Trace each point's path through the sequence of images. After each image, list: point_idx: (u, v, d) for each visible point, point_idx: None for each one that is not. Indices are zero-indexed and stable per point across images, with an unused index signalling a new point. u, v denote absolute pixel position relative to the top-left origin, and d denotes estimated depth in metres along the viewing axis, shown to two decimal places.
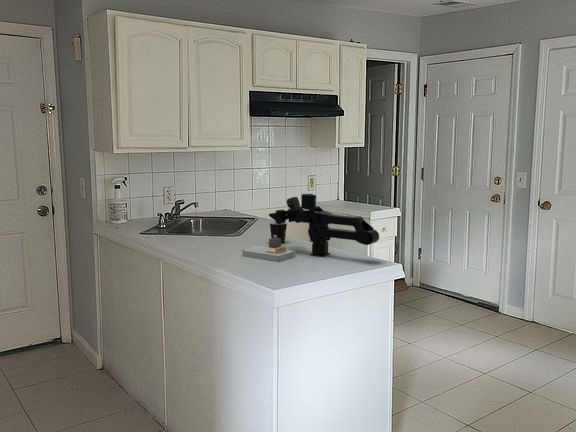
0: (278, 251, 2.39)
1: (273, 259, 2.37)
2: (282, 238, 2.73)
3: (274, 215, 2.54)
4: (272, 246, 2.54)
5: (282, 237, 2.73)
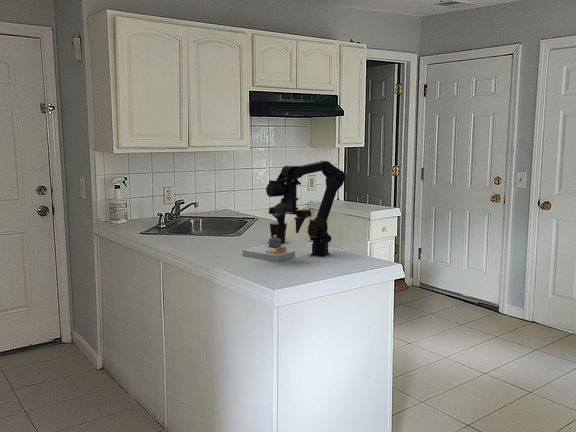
0: (278, 251, 2.39)
1: (273, 259, 2.37)
2: (282, 238, 2.73)
3: (299, 223, 2.34)
4: (272, 246, 2.54)
5: (282, 237, 2.73)
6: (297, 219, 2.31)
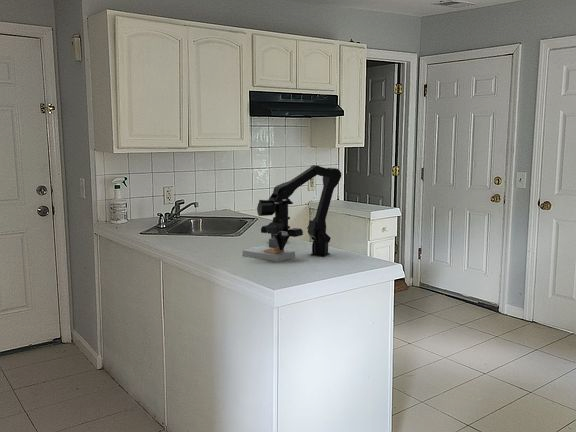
0: (277, 251, 2.40)
1: (273, 259, 2.37)
2: None
3: (284, 241, 2.39)
4: (272, 246, 2.54)
5: None
6: (282, 237, 2.37)
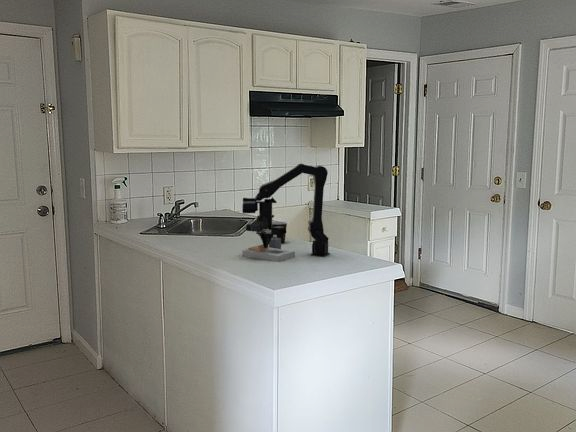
0: (261, 248, 2.45)
1: (273, 259, 2.37)
2: (282, 238, 2.73)
3: (268, 239, 2.44)
4: (272, 246, 2.54)
5: (282, 237, 2.73)
6: (266, 235, 2.42)
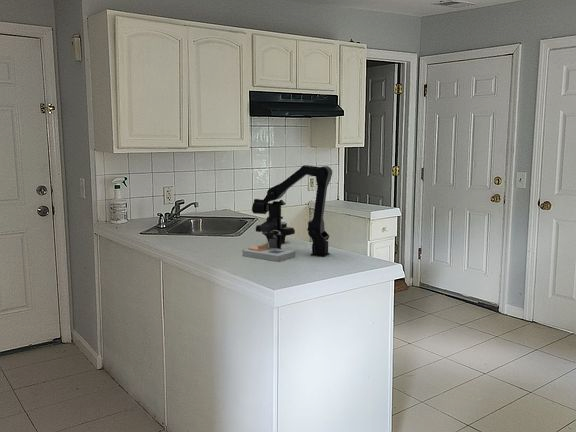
0: (261, 248, 2.45)
1: (273, 259, 2.37)
2: None
3: (280, 240, 2.53)
4: (272, 246, 2.54)
5: None
6: (278, 236, 2.51)
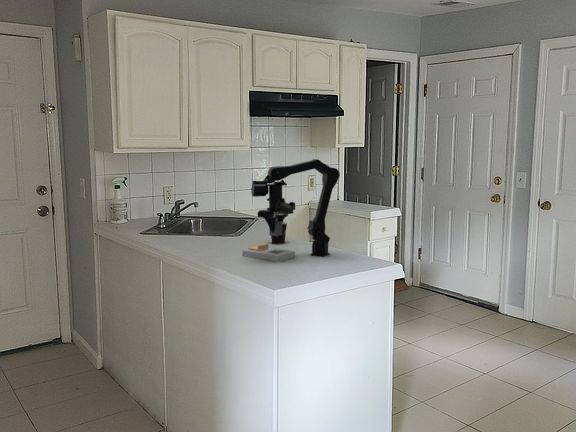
0: (261, 248, 2.45)
1: (273, 259, 2.37)
2: (282, 238, 2.73)
3: None
4: (279, 229, 2.40)
5: (282, 237, 2.73)
6: (285, 216, 2.43)
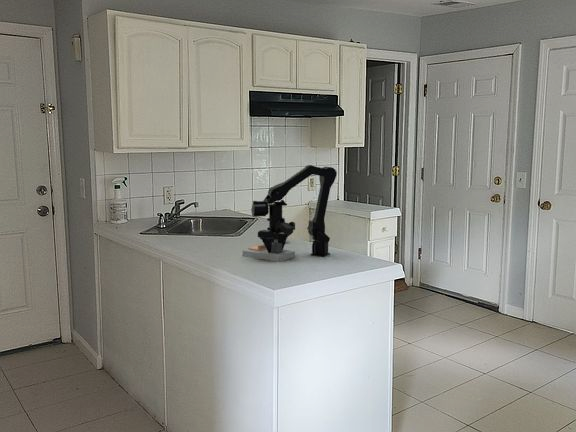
0: (261, 248, 2.45)
1: (273, 259, 2.37)
2: None
3: None
4: (279, 251, 2.42)
5: None
6: (288, 235, 2.46)
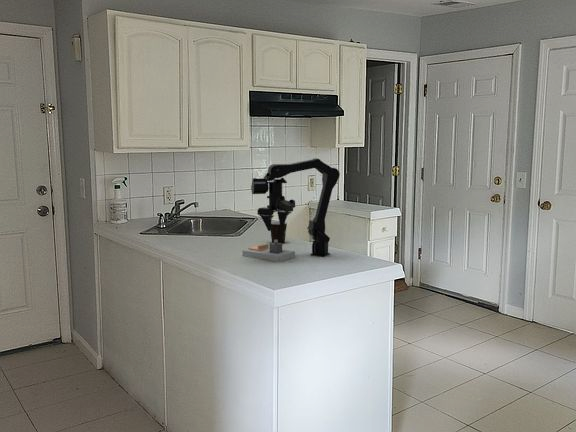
0: (261, 248, 2.45)
1: (273, 259, 2.37)
2: (282, 238, 2.73)
3: None
4: (279, 251, 2.42)
5: (282, 237, 2.73)
6: (288, 213, 2.44)
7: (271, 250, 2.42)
